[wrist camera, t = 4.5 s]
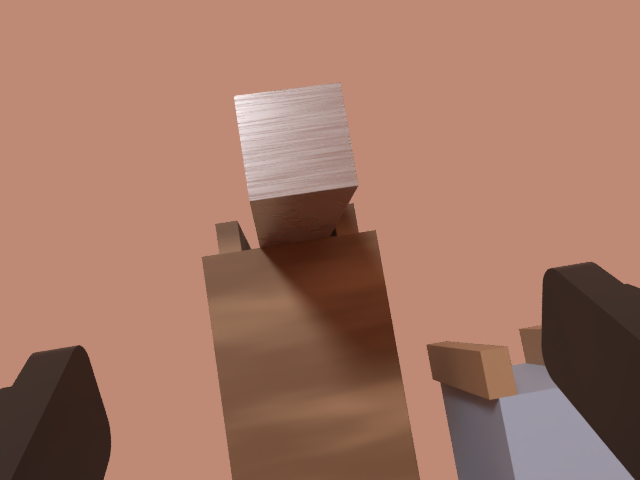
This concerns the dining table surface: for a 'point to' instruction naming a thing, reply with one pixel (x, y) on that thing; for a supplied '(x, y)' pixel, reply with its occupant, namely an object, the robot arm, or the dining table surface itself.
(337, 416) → the beam stand
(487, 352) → the cradle post
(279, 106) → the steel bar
